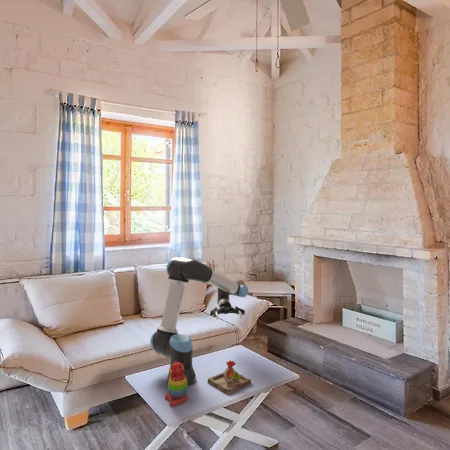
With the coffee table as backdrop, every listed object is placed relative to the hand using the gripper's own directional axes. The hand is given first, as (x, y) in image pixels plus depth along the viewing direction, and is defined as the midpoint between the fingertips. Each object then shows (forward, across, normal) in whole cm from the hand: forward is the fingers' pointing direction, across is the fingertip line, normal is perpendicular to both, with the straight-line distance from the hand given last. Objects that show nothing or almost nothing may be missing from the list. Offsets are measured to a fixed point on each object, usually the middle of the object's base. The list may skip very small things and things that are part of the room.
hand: (229, 316), depth 204 cm
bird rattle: (+16, +1, -29) cm, 33 cm away
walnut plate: (+16, +2, -30) cm, 34 cm away
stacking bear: (+29, +29, -30) cm, 51 cm away
